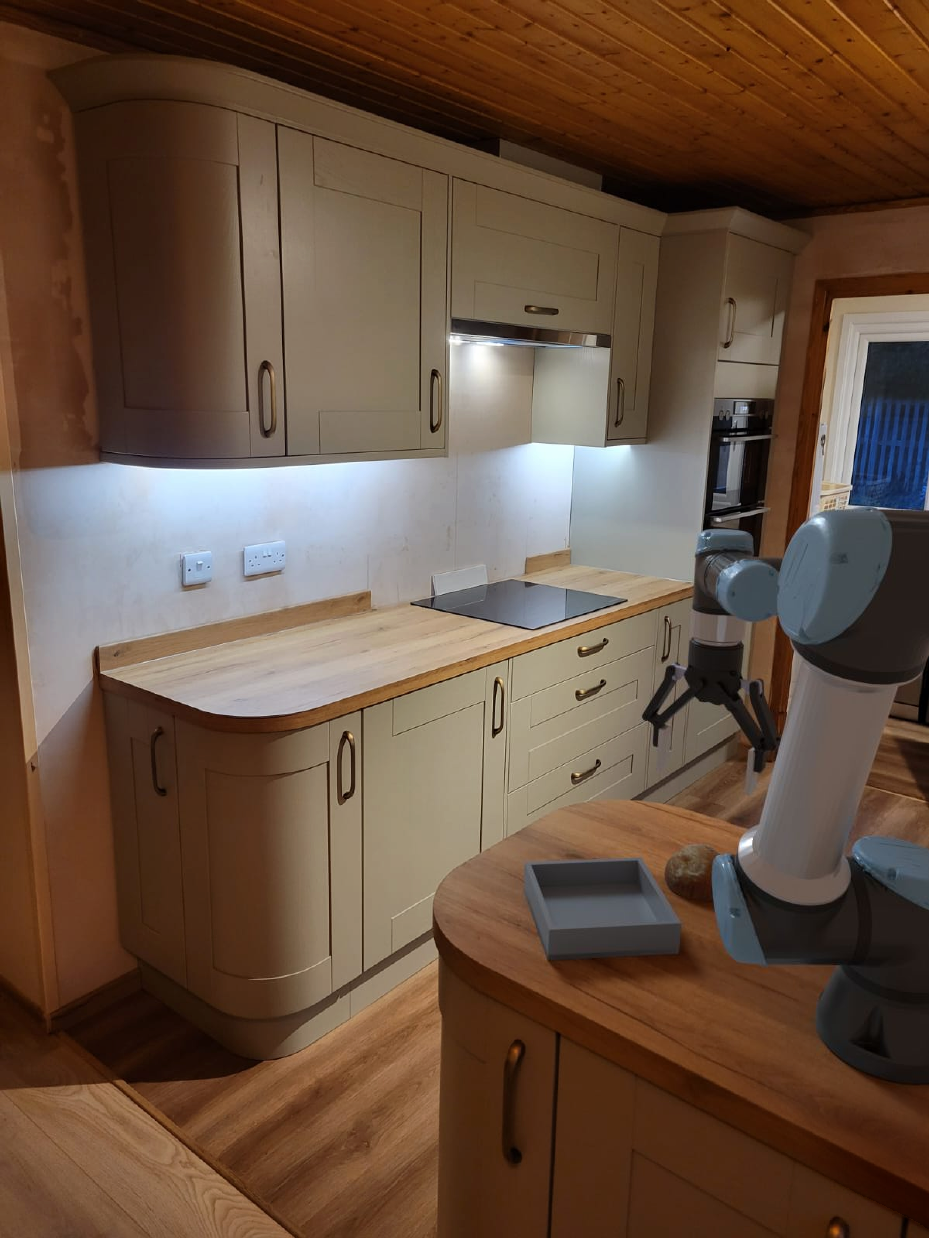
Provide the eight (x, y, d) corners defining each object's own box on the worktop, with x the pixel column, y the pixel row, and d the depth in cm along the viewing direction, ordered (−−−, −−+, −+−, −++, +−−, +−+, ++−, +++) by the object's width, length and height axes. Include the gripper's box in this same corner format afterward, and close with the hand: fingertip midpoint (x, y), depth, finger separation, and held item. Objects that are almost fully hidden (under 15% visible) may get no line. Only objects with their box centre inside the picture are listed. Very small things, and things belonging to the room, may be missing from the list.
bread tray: (678, 953, 123) (681, 922, 122) (547, 960, 121) (549, 929, 120) (639, 884, 140) (641, 857, 139) (523, 889, 138) (524, 862, 137)
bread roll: (693, 886, 147) (677, 838, 147) (752, 881, 140) (735, 830, 141) (663, 912, 140) (646, 861, 140) (724, 908, 133) (706, 854, 133)
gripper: (814, 649, 128) (799, 793, 133) (647, 621, 142) (639, 752, 147) (797, 660, 122) (781, 811, 127) (625, 630, 136) (616, 766, 141)
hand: (705, 779), depth 137 cm, fingers open, 13 cm apart
